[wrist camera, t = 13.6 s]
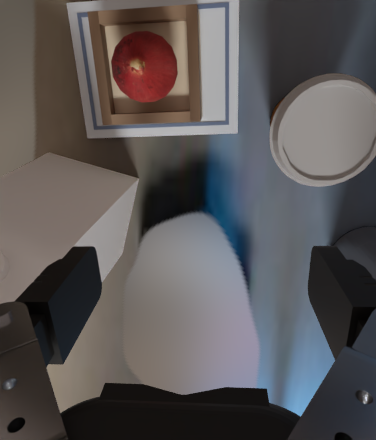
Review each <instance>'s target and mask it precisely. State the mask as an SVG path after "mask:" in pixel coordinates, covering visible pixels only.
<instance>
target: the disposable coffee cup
mask: <svg viewBox="0 0 376 440" xmlns="http://www.w3.org/2000/svg"><path fill="white" fill-rule="evenodd" d="M270 126H271V128H270V148H271V152H272V155H273V158H274V160H275V162H276V164H277V165H278V167H279V168H280V169H281V171H282V172H284V173H285V174H286V175H287V176H288V177H289V178H291V179H293V180H295V181H296V182H298V183H300V184H304V185H308V186H317V187H322V186H330V185H334V184H337V183H341V182H344V181H346V180H348V179H350V178H352V177H354V176H356V175H357V174H359V173H360V172H361V171H363V170H364V169H365V168H366V167H367V166H368V165H369V164H370V163H371V161H372V160H373V159H374V157H375V156H376V93H375V92H374V91H373V89H372V88H371V87H370V86H368V85H367V84H366V83H365V82H363V81H362V80H360V79H358V78H356V77H353V76H351V75H346V74H341V73H329V74H324V75H319V76H316V77H313V78H311V79H308V80H307V81H305V82H303V83H301V84H299V85H298V86H297V87H295V88H294V89H293V90H292V91H291V92H290V93H289V94H288V95H287V96H286V97H285V98H283V99H282V100H281V101H280V102H279V103H278V104H277V105H276V107H275V108H274V110H273V112H272V116H271V121H270Z"/></svg>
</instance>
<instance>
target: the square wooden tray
mask: <svg viewBox="0 0 376 440" xmlns="http://www.w3.org/2000/svg"><path fill="white" fill-rule="evenodd" d="M87 14H88V21H89V28H90V36H91V43H92V50H93V58H94V65H95V72H96V79H97V87H98V94H99V101H100V109H101V116H102V123H103V125H124V124H150V123H176V122H200V121H201V119H202V117H203V111H202V74H201V37H200V14H199V10H198V6H197V4H188V5H174V6H160V7H146V8H132V9H118V10H104V11H90V12H87ZM135 31H150V32H153V33H155V34H158V35H160V36H162V37H163V38H164V39H165V40H166V41H167V42H168V43H169V44H170V45H171V46H172V48H173V51H174V54H175V56H176V59H177V71H178V75H177V78H176V81H175V84H174V87H173V88H172V90H171V91H170V92H169V93H168V94H167V96H166V97H164V98H162V99H160V100H158V101H156V102H143V103H142V102H139V101H136V100H133V99H130V98H129V97H128V96H127V95H125V94H124V93H123V92H122V91H120V89H119V87H118V86H117V84H116V82H115V80H114V78H113V75H112V65H111V60H112V56H113V53H114V50H115V47H116V45H117V44H118V43H119V42H120V41H121V39H122V38H123V37H124V36H126V35H128V34H131V33H133V32H135Z"/></svg>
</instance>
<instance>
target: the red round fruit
mask: <svg viewBox="0 0 376 440" xmlns="http://www.w3.org/2000/svg"><path fill="white" fill-rule="evenodd" d="M111 65H112V75H113V78H114V80H115V82H116V84H117V86H118V87H119V89H120V91H122V92H123V93H124V94H125V95H127V96H128V97H129V98H130V99H133V100H136V101H139V102H142V103H143V102H156V101H158V100H160V99H162V98H164V97H166V96H167V94H168V93H169V92H170V91H171V90H172V88H173V87H174V84H175V81H176V78H177V75H178V71H177V59H176V56H175V54H174V51H173V48H172V46H171V45H170V44H169V43H168V42H167V41H166V40H165V39H164V38H163V37H162V36H160V35H158V34H155V33H153V32H150V31H135V32H133V33H131V34H128V35H126V36H124V37H123V38H122V39H121V41H120V42H119V43H118V44H117V45H116V47H115V50H114V53H113V56H112V60H111Z"/></svg>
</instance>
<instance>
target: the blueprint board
mask: <svg viewBox="0 0 376 440" xmlns="http://www.w3.org/2000/svg"><path fill="white" fill-rule="evenodd" d="M66 4H67V10H68V17H69V23H70V29H71V36H72V42H73V49H74V55H75V62H76V68H77V74H78V81H79V87H80V94H81V100H82V106H83V113H84V119H85V126H86V132H87V138H116V137H145V136H174V135H202V134H231V133H238V53H239V0H99V1H86V2H72V3H66ZM188 4H197V6H198V10H199V14H200V37H201V74H202V111H203V117H202V119H201V121H200V122H176V123H150V124H124V125H103V123H102V116H101V109H100V101H99V94H98V87H97V79H96V72H95V65H94V58H93V50H92V43H91V36H90V28H89V21H88V14H87V12H90V11H104V10H118V9H132V8H146V7H160V6H174V5H188Z"/></svg>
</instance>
